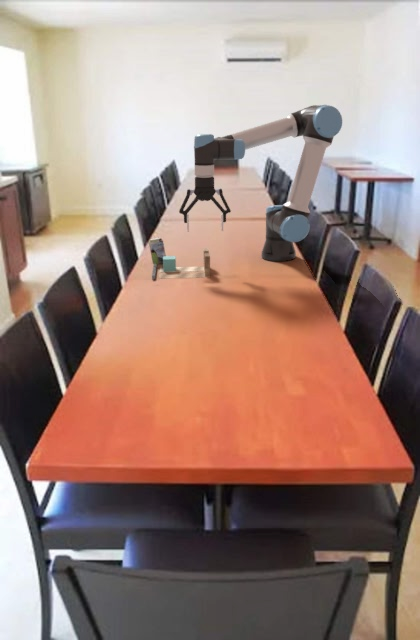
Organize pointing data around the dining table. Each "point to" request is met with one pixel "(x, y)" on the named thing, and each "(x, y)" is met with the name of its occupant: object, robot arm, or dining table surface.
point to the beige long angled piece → (189, 269)
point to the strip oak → (191, 275)
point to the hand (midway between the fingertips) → (205, 230)
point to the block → (169, 263)
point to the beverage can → (157, 250)
